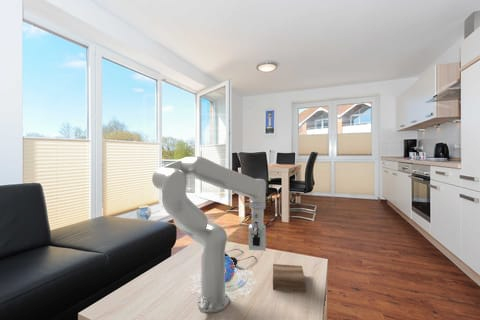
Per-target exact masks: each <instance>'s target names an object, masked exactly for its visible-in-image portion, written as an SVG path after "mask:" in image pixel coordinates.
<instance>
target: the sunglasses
mask: <svg viewBox="0 0 480 320" xmlns="http://www.w3.org/2000/svg"><path fill="white" fill-rule="evenodd" d="M236 250H237V251H240V252H241V253H242V254H243V253H244V251H243V250H241V249H239V248H235V249H231V250H230V249H229V250H227V251H226V250H225V256H229V254H227V253H228V252H232V251H236ZM229 257H230V258H231V259H232V260H233V262H234V265H235V267H234V268H236V267H237V265H238V262H241V261H244V260H246V259H249V258H255V259H257V258H256V256H254V255H252V256H249V257H244V258H243V259H237V258H236V257H234V256H229Z"/></svg>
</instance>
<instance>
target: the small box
mask: <svg viewBox="0 0 480 320" xmlns="http://www.w3.org/2000/svg"><path fill="white" fill-rule="evenodd" d="M253 229H254V228H253ZM257 230H259V229H257ZM266 231H267V229H266V225H265V224H264V226H263V230H262V231H260V233H259V237H260V246H253V230H252V223H250V224H249V225H248V251H266V250H267V249H266V246H267V245H266V244H267V243H266V242H267V239H266V238H267V235H266V233H267V232H266ZM257 233H258V232H257Z"/></svg>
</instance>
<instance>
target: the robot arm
mask: <svg viewBox="0 0 480 320" xmlns="http://www.w3.org/2000/svg"><path fill="white" fill-rule="evenodd" d="M189 178H190V179H191V178H192V179H196V180H199V181H202V182H204V183H206V184H210V185H212V186H215V187H217V188H220V189H223V190H228V191H229V190H230V191H234V193H235V194H237V195H239V196H242V197H247V198H249V209H251V224H252V230H253V246H260V237H259V233H260V231H262V230H263V226H264V225H265V223H264V221H265V219H264V215H265V213H264V210H265V209H266V200H267V199H266V194H267V192H266V190H267V189H266V187H267V186H266V179H263V178H254V177H252V176H249V175H247V174H243V173H241V172H238V171H235V170H233V169H230V168H228V167H225V166H222V165H220V164H218V163H216V162H214V161H212V160H210V159H209V158H206V157H203V156H187V157H184V158H180V159H178V160H175V161H173V162H171V163H168V164H166V165H163V166H161V167H159V168H157V169H156V170H155V171H154V172H153V174H152V177H151V180H152V184H153V185H154V186H155V188H157V189H158V190H160V191H162V194H161V200H162V202H161V203H162V207H163V209H164V211H165V212H166V213H167V214H168V215H169V216H171V218H172V221H173V223H174V225H175V226H176V228H177V229H179V230H180V231H182V232H183V233H184V234H185V235H187V236H188V237H190V238H191V239H192V240H194V241H195V242H196V243H198V244H200V245H202V246H203V250H202V253H201V256H200V273H201V275H200V276H201V277H200V279H201V281H200V283H201V284H200V286H201V287H200V288H201V291H200V292H201V293H200V294H201V295H199V296H198V299H197V306H198V308H199V312H200V313H202V314H204V313H205V312H206V313H217V312H221V311H223V310H224V309H226V308H227V307H228V305H229V303H230V297H229V294H227V293H226V262H225V253H226V247H227V243H228V242H227V240H228V235H227V232H226V230H225V228H224V227H222V226H221V225H219V224H217V223H215V222H212V221H209V219H208V216H207V215H206V213H205V212H204V211H203V210H201V208H199V207H198V206H197V205H196V204H195V203H194V202H193V201H191V199H190V198H189V197H188V196H187V183H188V179H189ZM253 228H254V229H253ZM257 229H259V230H257ZM257 232H258V233H257Z"/></svg>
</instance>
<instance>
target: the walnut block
mask: <svg viewBox="0 0 480 320" xmlns="http://www.w3.org/2000/svg"><path fill="white" fill-rule="evenodd" d="M304 272H305V271H304V269H303V265H293V264H282V263H281V264H279V263H277V264H276V263H273V265H272V290H273V291H283V292H284V291H285V292H294V293H295V292H296V293H306V292H307V286H306V285H307V284H306V283H307V281H306V277H305V273H304Z"/></svg>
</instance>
